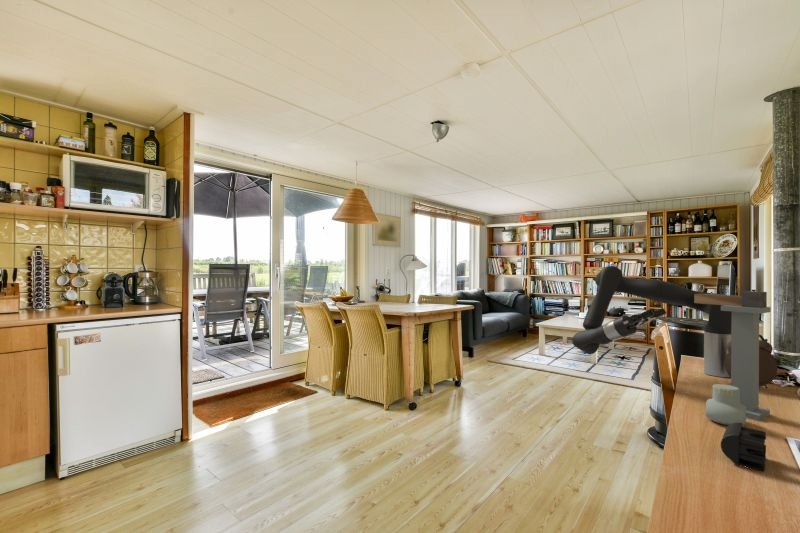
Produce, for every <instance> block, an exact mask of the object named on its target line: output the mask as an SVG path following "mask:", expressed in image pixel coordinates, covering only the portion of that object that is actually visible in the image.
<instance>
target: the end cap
mask: <svg viewBox="0 0 800 533" xmlns="http://www.w3.org/2000/svg"><path fill="white" fill-rule="evenodd" d="M766 440H767V432H766V431H762V430H759V429H753V428H750V427H746V426H744V425H743V423H732V424H730V425H727V426H726V428H725V431H724V433H723V435H722V438H721V441H720V448H721V449H720V450H721V451H722V453H723V454H724V456H725V457H727V458H728V459H729V460H730V461H731V462H732V463H734V464H735V465H737V464H738V465H737V466H739V465H742V466H741V467H743V466H746V467H748V468H747V469H750V468H751V469H750V470H753V469H754V471H757V472H760V471H761V473H764V472H765V470H766V469H765V468H766V460H767V456H766V455H767V445H766V444H765V443H766ZM746 467H745V468H746Z"/></svg>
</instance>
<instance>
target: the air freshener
mask: <svg viewBox="0 0 800 533" xmlns="http://www.w3.org/2000/svg"><path fill="white" fill-rule="evenodd" d="M705 404H706V405H705V416H706V417H707V418H708V419H710V420H712V421H714V422H715V423H718V424H720V425H721V424H722V425H724V426H725V425H726V426H729V425H730V424H732V423H743V426H745V425H746V424H747V418H746V407H745V406H744V405H742V404H740V389H739V388H737V387H734V386H731V384H730V385H729V384H723V383H715V384H713V385H712V398H708V399H707V400H706V403H705Z"/></svg>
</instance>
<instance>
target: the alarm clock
mask: <svg viewBox="0 0 800 533" xmlns="http://www.w3.org/2000/svg"><path fill="white" fill-rule="evenodd" d="M727 349H728V354H727V355H726V358H725V369H726V371H727V373H728V374H729V375H730V376H731V341H730V342H729V343H728V344H727ZM773 349H774V348H773V345H772V344H771V343H770V342H768V338H764V337H763V335H762V334H760V333H759V388H761V387H765V389H768V388H769V387H768V386H767V385H769V384H771V383H772V382H773V381H774V379H775V377H776V376H777V374H778V363H777V360H776V358H775V357H774V356H773V354H772V353H773Z"/></svg>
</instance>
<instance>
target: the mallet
mask: <svg viewBox="0 0 800 533" xmlns="http://www.w3.org/2000/svg"><path fill="white" fill-rule="evenodd" d="M767 293H768V292H767V291H755V290H754V291H753V290H749V291H748V290H747V291H745V290H744V291H741V295H733V294H730V295H729V294H724V295H714V294H694V303H700V304H714V305H729V306H742V307H752V308H764V307H768V304H767V301H768V298H767V295H768V294H767Z"/></svg>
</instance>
